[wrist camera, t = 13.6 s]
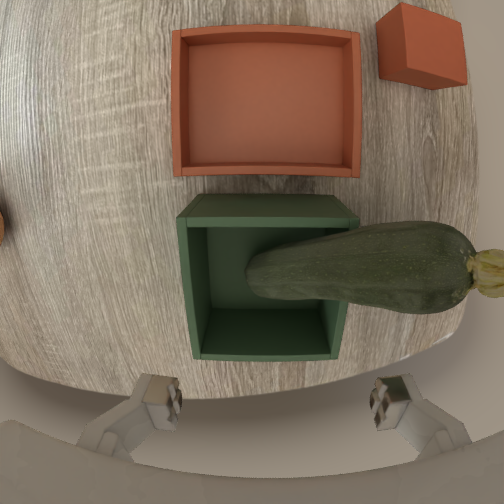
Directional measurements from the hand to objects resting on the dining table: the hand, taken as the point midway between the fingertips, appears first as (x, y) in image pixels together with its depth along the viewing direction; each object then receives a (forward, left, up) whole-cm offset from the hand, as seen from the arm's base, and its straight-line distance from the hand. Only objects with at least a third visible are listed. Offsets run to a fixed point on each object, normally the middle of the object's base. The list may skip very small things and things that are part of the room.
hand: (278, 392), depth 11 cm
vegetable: (+2, 0, -13) cm, 13 cm away
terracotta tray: (0, -12, -14) cm, 18 cm away
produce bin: (0, 0, -14) cm, 14 cm away
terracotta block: (-11, -17, -14) cm, 24 cm away
